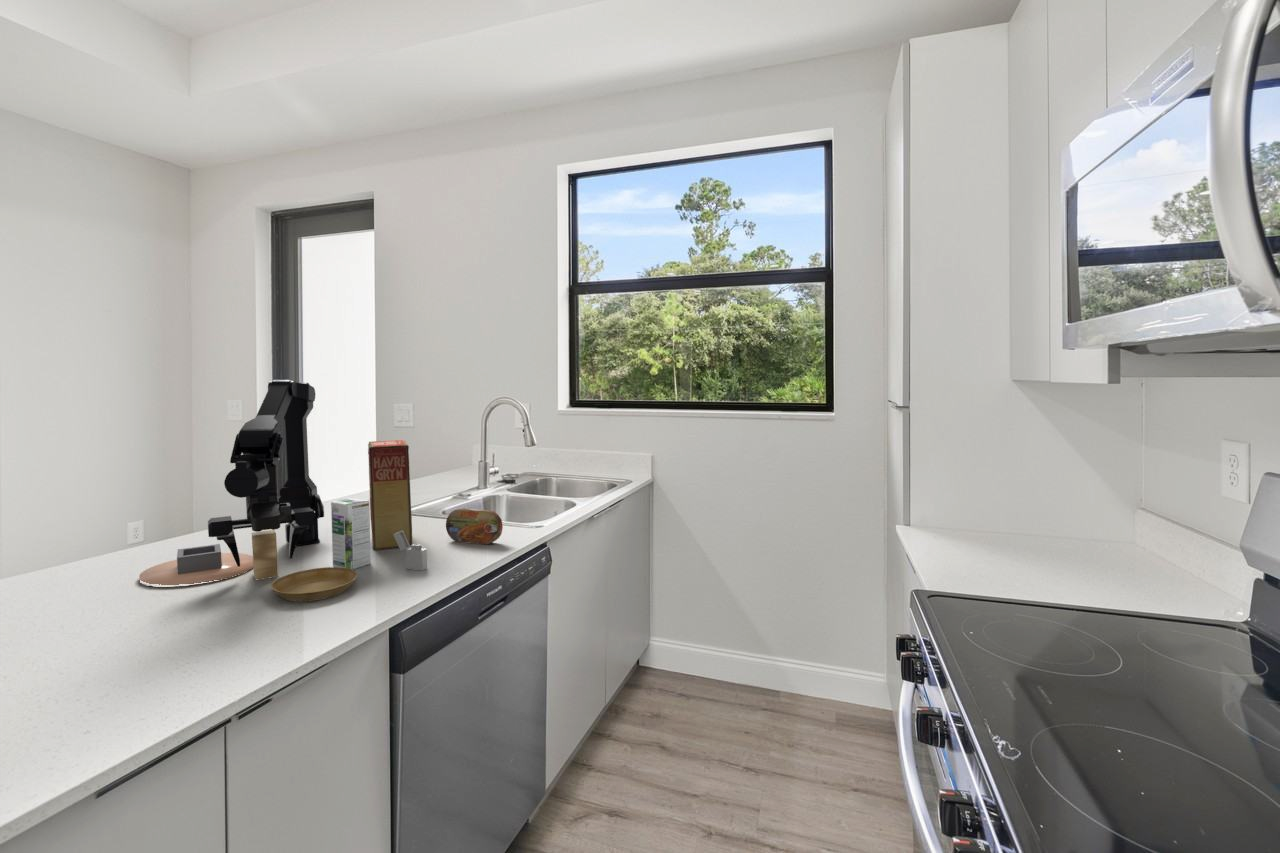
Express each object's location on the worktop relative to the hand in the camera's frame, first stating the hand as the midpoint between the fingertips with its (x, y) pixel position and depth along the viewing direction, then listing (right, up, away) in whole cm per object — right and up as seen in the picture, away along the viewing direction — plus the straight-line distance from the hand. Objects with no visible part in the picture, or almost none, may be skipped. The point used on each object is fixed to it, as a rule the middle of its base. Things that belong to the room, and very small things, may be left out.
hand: (265, 562), depth 126 cm
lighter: (+28, -3, +6) cm, 29 cm away
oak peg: (0, -3, 0) cm, 3 cm away
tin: (+36, -1, +27) cm, 45 cm away
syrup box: (+15, -3, +7) cm, 17 cm away
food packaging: (+16, -1, +26) cm, 31 cm away
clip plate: (-15, -3, +3) cm, 16 cm away
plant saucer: (+15, -4, -9) cm, 18 cm away
